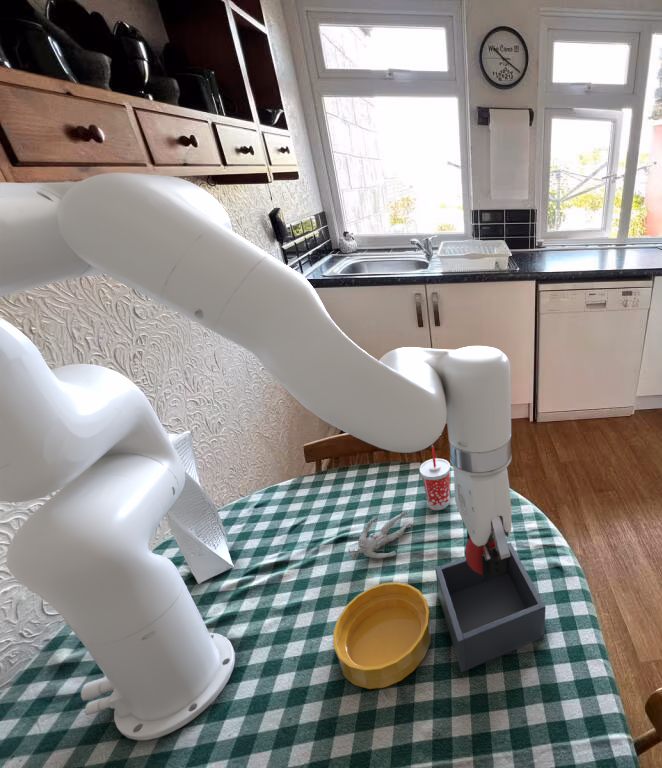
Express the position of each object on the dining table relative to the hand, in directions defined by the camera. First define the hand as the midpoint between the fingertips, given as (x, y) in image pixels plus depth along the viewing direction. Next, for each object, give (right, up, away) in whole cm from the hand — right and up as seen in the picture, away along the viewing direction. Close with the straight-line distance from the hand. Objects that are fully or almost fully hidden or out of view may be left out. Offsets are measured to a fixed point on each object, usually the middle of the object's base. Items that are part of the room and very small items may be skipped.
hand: (486, 555), depth 58 cm
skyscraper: (-49, -8, +15) cm, 51 cm away
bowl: (-15, -13, +2) cm, 20 cm away
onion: (0, -3, +1) cm, 3 cm away
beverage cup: (-12, -1, +29) cm, 31 cm away
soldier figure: (-20, -6, +19) cm, 28 cm away
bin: (0, -12, +5) cm, 13 cm away
